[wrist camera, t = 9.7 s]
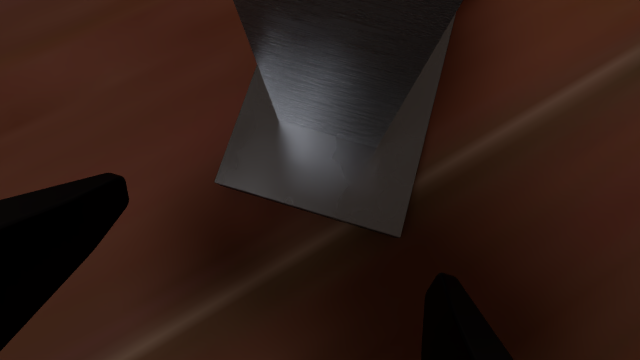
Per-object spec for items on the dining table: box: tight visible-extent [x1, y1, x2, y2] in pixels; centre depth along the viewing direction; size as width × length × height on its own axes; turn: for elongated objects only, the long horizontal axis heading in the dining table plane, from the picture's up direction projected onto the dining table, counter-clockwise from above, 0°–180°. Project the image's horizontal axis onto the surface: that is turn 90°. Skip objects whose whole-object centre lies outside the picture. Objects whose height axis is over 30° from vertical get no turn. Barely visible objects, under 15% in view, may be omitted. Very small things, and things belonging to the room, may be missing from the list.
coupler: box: [215, 13, 456, 238], centre depth 17 cm, size 19×10×5 cm, turn 163°
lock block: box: [233, 0, 463, 148], centre depth 11 cm, size 6×6×13 cm
